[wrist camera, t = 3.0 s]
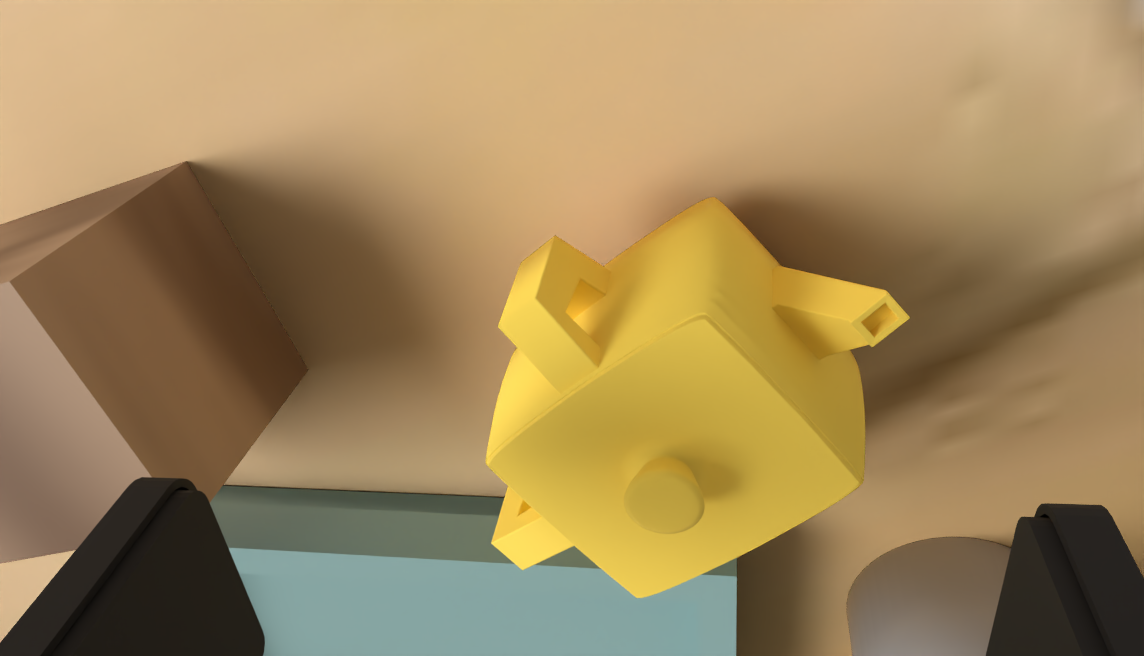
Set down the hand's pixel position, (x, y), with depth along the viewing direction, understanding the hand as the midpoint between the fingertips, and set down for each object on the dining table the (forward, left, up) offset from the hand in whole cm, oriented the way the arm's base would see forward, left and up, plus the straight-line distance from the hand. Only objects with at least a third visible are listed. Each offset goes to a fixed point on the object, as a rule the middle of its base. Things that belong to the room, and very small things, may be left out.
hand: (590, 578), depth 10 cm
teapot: (0, +1, -8) cm, 8 cm away
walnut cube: (+11, +1, -8) cm, 13 cm away
